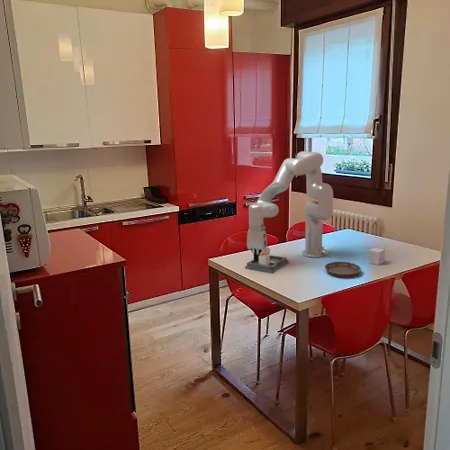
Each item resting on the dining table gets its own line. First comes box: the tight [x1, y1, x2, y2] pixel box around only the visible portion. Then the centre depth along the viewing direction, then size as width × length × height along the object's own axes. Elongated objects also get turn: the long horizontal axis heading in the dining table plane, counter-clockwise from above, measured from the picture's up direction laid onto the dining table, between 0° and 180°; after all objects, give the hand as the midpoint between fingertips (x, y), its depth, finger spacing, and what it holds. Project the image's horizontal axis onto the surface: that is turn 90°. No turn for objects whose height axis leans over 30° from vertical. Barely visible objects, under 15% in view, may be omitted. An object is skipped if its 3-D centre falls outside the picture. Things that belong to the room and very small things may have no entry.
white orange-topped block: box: [260, 247, 271, 255], centre depth 240 cm, size 4×5×6 cm
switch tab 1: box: [259, 253, 271, 266], centre depth 229 cm, size 4×5×6 cm
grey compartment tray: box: [244, 254, 289, 274], centre depth 234 cm, size 16×20×3 cm
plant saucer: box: [324, 261, 362, 278], centre depth 220 cm, size 18×18×3 cm
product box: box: [368, 247, 386, 266], centre depth 232 cm, size 6×6×7 cm
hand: (256, 260), depth 232 cm, fingers closed
